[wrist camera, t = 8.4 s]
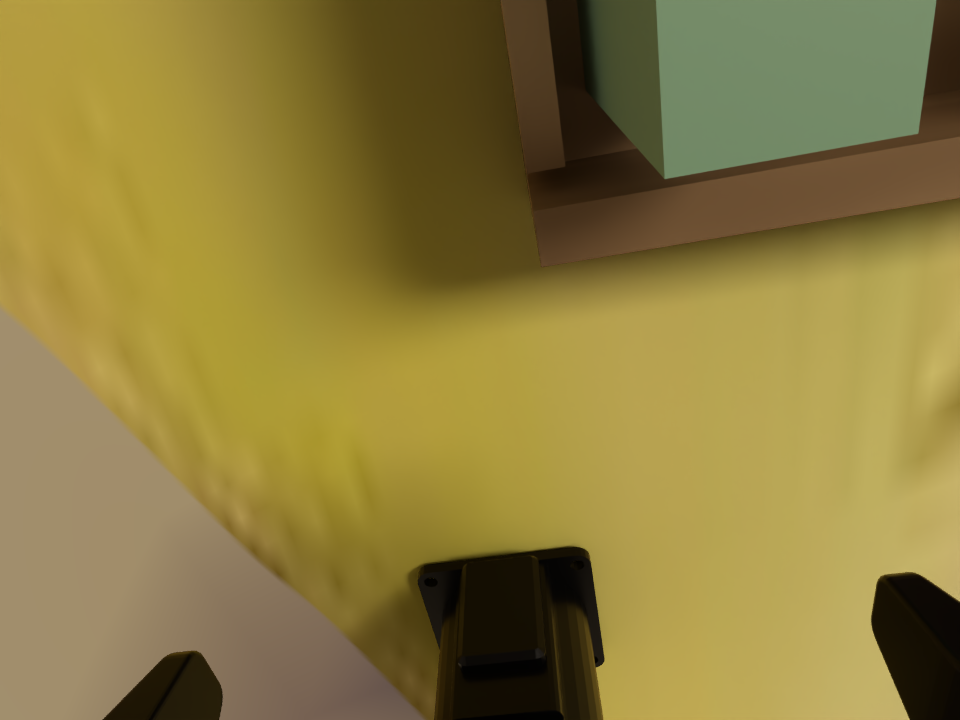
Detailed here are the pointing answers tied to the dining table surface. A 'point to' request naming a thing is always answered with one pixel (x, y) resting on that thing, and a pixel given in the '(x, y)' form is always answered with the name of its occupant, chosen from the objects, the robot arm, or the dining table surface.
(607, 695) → the dining table surface
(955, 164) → the book rack
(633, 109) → the green book
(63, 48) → the dining table surface
